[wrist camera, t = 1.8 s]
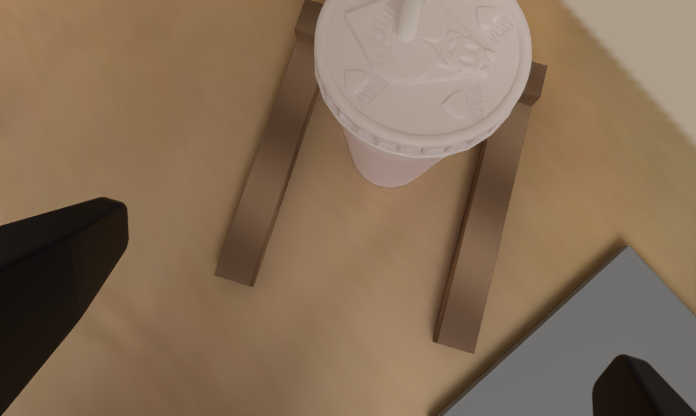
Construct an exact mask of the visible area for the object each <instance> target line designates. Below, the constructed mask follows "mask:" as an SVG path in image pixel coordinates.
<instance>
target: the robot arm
mask: <svg viewBox="0 0 696 416" xmlns="http://www.w3.org/2000/svg"><path fill="white" fill-rule="evenodd" d="M128 240H129V234H128V212H127V207H126V205H125V204H124V203H122V202H120V201H116V200H113V199H110V198H106V197H100V198H96V199H92V200H89V201H85V202H82V203H78V204H75V205H72V206H68V207H65V208H61V209H58V210H54V211H51V212H47V213H44V214H40V215H37V216H33V217H30V218H26V219H23V220H19V221H16V222H12V223H9V224H5V225H2V226H0V416H2V414H3V413H4V412H5V411H6V409H7V408H8V407H9V406H10V405H11V403H12V402H13V401H14V400H15V398H16V397H17V396H18V395H19V394H20V392H21V391H22V390H23V389H24V387H25V386H26V385H27V384H28V383H29V381H30V380H31V379H32V378H33V376H34V375H35V374H36V373H37V372H38V370H39V369H40V368H41V367H42V365H43V364H44V363H45V362H46V361H47V359H48V358H49V357H50V356H51V354H52V353H53V352H54V351H55V350H56V348H57V347H58V346H59V345H60V344H61V342H62V341H63V340H64V339H65V337H66V336H67V335H68V334H69V333H70V331H71V330H72V329H73V328H74V326H75V325H76V324H77V322H78V321H79V320H80V319H81V317H82V316H83V314H84V313H85V311H86V310H87V308H88V307H89V305H90V304H91V302H92V301H93V299H94V298H95V296H96V295H97V293H98V292H99V290H100V289H101V287H102V286H103V284H104V282H105V281H106V279H107V278H108V276H109V275H110V273H111V272H112V270H113V269H114V267H115V266H116V264H117V262H118V261H119V259H120V258H121V256H122V255H123V253H124V252H125V250H126V248H127V245H128ZM592 407H593V416H696V412H695V411H694V410H693V409H692V408H691V407H690V406H689V405H688V404H687V403H686V402H685V401H684V399H683V398H682V397H681V396H680V395H679V394H678V393H677V392H676V391H675V390H674V389H673V388H672V387H671V386H670V385H669V384H668V383H667V382H666V381H665V380H664V379H663V378H662V377H661V376H660V374H659V373H658V372H657V371H656V370H655V369H654V368H653V367H652V366H651V365H650V364H649V363H648V362H646V361H645V360H642V359H639V358H636V357H633V356H629V355H626V354H620V355H618V356H616V357H615V358H614V359H613V360H612V362H611V363H610V364H609V365H608V367H607V368H606V369H605V370H604V372H603V373H602V374H601V375H600V376H599V378H598V379H597V380H596V382H595V384H594V386H593V390H592Z"/></svg>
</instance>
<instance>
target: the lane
mask: <svg viewBox="0 0 696 416" xmlns="http://www.w3.org/2000/svg"><path fill="white" fill-rule="evenodd" d="M323 5H324V4H321V3H317V2H314V1H310V0H305V2H304V4H303V7H302V10H301V13H300V16H299V18H298V21H297V24H296V27H295V33H296V39H297V41H296V44H295V47H294V50H293V53H292V55H291V58H290V61H289V64H288V67H287V70H286V72H285V75H284V78H283V81H282V84H281V87H280V89H279V92H278V95H277V98H276V101H275V104H274V107H273V109H272V112H271V115H270V118H269V121H268V124H267V126H266V129H265V132H264V135H263V138H262V141H261V143H260V146H259V149H258V152H257V155H256V158H255V160H254V163H253V166H252V169H251V172H250V175H249V177H248V180H247V183H246V186H245V189H244V192H243V194H242V197H241V200H240V203H239V206H238V209H237V211H236V214H235V217H234V220H233V223H232V226H231V228H230V231H229V234H228V237H227V240H226V243H225V245H224V248H223V251H222V254H221V257H220V260H219V262H218V265H217V268H216V271H215V274H214V275H216V276H219V277H222V278H226V279H229V280H232V281H236V282H239V283H242V284H246V285H249V286H254V283H255V280H256V277H257V274H258V271H259V268H260V265H261V262H262V259H263V256H264V253H265V250H266V247H267V244H268V241H269V238H270V235H271V232H272V229H273V226H274V223H275V220H276V217H277V214H278V211H279V208H280V205H281V202H282V199H283V196H284V193H285V190H286V187H287V184H288V181H289V178H290V175H291V172H292V169H293V166H294V163H295V160H296V157H297V154H298V151H299V148H300V145H301V142H302V139H303V136H304V133H305V130H306V127H307V124H308V121H309V118H310V115H311V112H312V109H313V106H314V103H315V100H316V97H317V94H318V91H319V85H318V82H317V79H316V76H315V62H314V39H315V30H316V25H317V21H318V17H319V14H320V12H321V9H322V7H323ZM546 70H547V66H546V65H542V64H539V63H535V62H531V69H530V73H529V77H528V80H527V83H526V86H525V88H524V90H523V92H522V94H521V96H520V98H519V100H518V101H517V103H516V104H515V106H514V107H513V109H512V111H511V113H510V115H509V116H508V118H507V119H506V120H505V121H504V122H503V123H502V124H501V125H500V126H499V128H498V129H497V130H496V131H495V132H494V133H493V134H492V135H491V136H489V137H488V138H486V139H485V140H483V144H482V148H481V152H480V156H479V160H478V164H477V168H476V172H475V176H474V179H473V183H472V187H471V191H470V195H469V199H468V203H467V207H466V211H465V215H464V219H463V223H462V227H461V231H460V235H459V239H458V243H457V247H456V251H455V255H454V259H453V263H452V267H451V271H450V275H449V279H448V283H447V287H446V291H445V295H444V299H443V303H442V307H441V311H440V315H439V319H438V323H437V327H436V331H435V335H434V339H433V341H434V342H436V343H440V344H443V345H446V346H449V347H453V348H456V349H459V350H463V351H466V352H469V353H472V354H474V351H475V347H476V343H477V338H478V334H479V330H480V326H481V321H482V317H483V313H484V308H485V304H486V300H487V295H488V291H489V287H490V283H491V278H492V274H493V270H494V265H495V261H496V257H497V252H498V248H499V244H500V240H501V235H502V231H503V227H504V222H505V218H506V214H507V210H508V205H509V201H510V197H511V192H512V188H513V184H514V179H515V175H516V171H517V167H518V162H519V158H520V154H521V149H522V145H523V141H524V137H525V132H526V128H527V124H528V119H529V115H530V111H531V106H532V105H533V104H534V103H535V102H536V101H537V100H538V99H539V98H540V96H541V91H542V87H543V83H544V78H545V74H546Z"/></svg>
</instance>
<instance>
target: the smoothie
mask: <svg viewBox="0 0 696 416" xmlns="http://www.w3.org/2000/svg"><path fill="white" fill-rule="evenodd" d="M314 62H315V76H316V79H317V82H318V85H319V88H320V91H321V94H322V97H323V100H324V101H325V103H326V104H327V106H328V107H329V109H330V110H331V112H332V113H333V115H334V116H335V118H336V119H337V121H338V122H339V123H340V124H341V125H342V129H343V132H344V135H345V138H346V141H347V144H348V147H349V150H350V153H351V156H352V159H353V162H354V164H355V167H356V168H357V170H358V171H359V173H360V174H361V175H362V176H363V177H364V178H365V179H366V180H368V181H369V182H371V183H373V184H375V185H377V186H381V187H386V188H395V187H400V186H404V185H406V184H408V183H410V182H412V181H413V180H415V179H416V178H417V177H419V176H420V175H421V174H423V173H424V172H425V171H427V170H428V169H429V168H431V167H432V166H433V165H435V164H436V163H437V162H439V161H440V160H441V159H443V158H444V157H446V156H449V155H453V154H456V153H459V152H462V151H466V150H469V149H470V148H472V147H473V146H475V145H477V144H478V143H480V142H481V141H483V140H485V139H486V138H488V137H489V136H491V135H492V134H493V133H494V132H495V131H496V130H497V129H498V128H499V126H500V125H501V124H502V123H503V122H504V121H505V120H506V119H507V118H508V116H509V115H510V113H511V111H512V109H513V107H514V106H515V104H516V103H517V101H518V100H519V98H520V96H521V94H522V92H523V90H524V88H525V86H526V83H527V80H528V77H529V73H530V69H531V62H532V43H531V36H530V31H529V27H528V24H527V21H526V18H525V16H524V14H523V11H522V9H521V8H520V6H519V4H518V2H517V1H516V0H326V1H325V3H324V5H323V7H322V9H321V12H320V14H319V17H318V21H317V25H316V30H315V39H314Z"/></svg>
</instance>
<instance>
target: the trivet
mask: <svg viewBox="0 0 696 416" xmlns="http://www.w3.org/2000/svg"><path fill="white" fill-rule="evenodd" d="M620 354H626V355H629V356H633V357H636V358H639V359H642V360H645V361H646V362H648V363H649V364H650V365H651V366H652V367H653V368H654V369H655V370H656V371H657V372H658V373H659V374H660V376H661V377H662V378H663V379H664V380H665V381H666V382H667V383H668V384H669V385H670V386H671V387H672V388H673V389H674V390H675V391H676V392H677V393H678V394H679V395H680V396H681V397H682V398H683V399H684V401H685V402H686V403H687V404H688V405H689V406H690V407H691V408H692V409H693V410H694V411H695V412H696V316H695V315H694V314H693V313H692V312H691V311H690V310H689V309H688V308H687V307H686V306H685V305H684V304H683V303H682V302H681V300H680V299H679V298H678V297H677V296H676V295H675V294H674V293H673V292H672V291H671V290H670V289H669V288H668V287H667V286H666V285H665V283H664V282H663V281H662V280H661V279H660V278H659V277H658V276H657V275H656V274H655V273H654V272H653V271H652V270H651V269H650V267H649V266H648V265H647V264H646V263H645V262H644V261H643V260H642V259H641V258H640V257H639V256H638V255H637V254H636V253H635V251H634V250H633V249H632V248H631V247H630V246H625V247H621V248H620V249H619V250H618V251H617V252H616V253H615V254H613V255H612V256H611V257H610V258H609V259H608V260H607V261H606V262H605V263H604V264H602V265H601V266H600V267H599V268H598V269H597V270H596V271H595V272H594V273H593V274H592V275H590V276H589V277H588V278H587V279H586V280H585V281H584V282H583V283H582V284H581V285H579V286H578V287H577V288H576V289H575V290H574V291H573V292H572V293H571V294H570V295H569V296H567V297H566V298H565V299H564V300H563V301H562V302H561V303H560V304H559V305H558V306H556V307H555V308H554V309H553V310H552V311H551V312H550V313H549V314H548V315H547V316H545V317H544V318H543V319H542V320H541V321H540V322H539V323H538V324H537V325H536V326H535V327H533V328H532V329H531V330H530V331H529V332H528V333H527V334H526V335H525V336H524V337H522V338H521V339H520V340H519V341H518V342H517V343H516V344H515V345H514V346H513V347H512V348H510V349H509V350H508V351H507V352H506V353H505V354H504V355H503V356H502V357H501V358H499V359H498V360H497V361H496V362H495V363H494V364H493V365H492V366H491V367H490V368H489V369H487V370H486V371H485V372H484V373H483V374H482V375H481V376H480V377H479V378H478V379H476V380H475V381H474V382H473V383H472V384H471V385H470V386H469V387H468V388H467V389H466V390H464V391H463V392H462V393H461V394H460V395H459V396H458V397H457V398H456V399H455V400H453V401H452V402H451V403H450V404H449V405H448V406H447V407H446V408H445V409H444V410H442V411H441V412H440V413H439V414H438V415H437V416H593V407H592V390H593V386H594V384H595V382H596V380H597V379H598V378H599V376H600V375H601V374H602V373H603V372H604V370H605V369H606V368H607V367H608V365H609V364H610V363H611V362H612V360H613V359H614V358H615V357H616V356H618V355H620Z"/></svg>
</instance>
